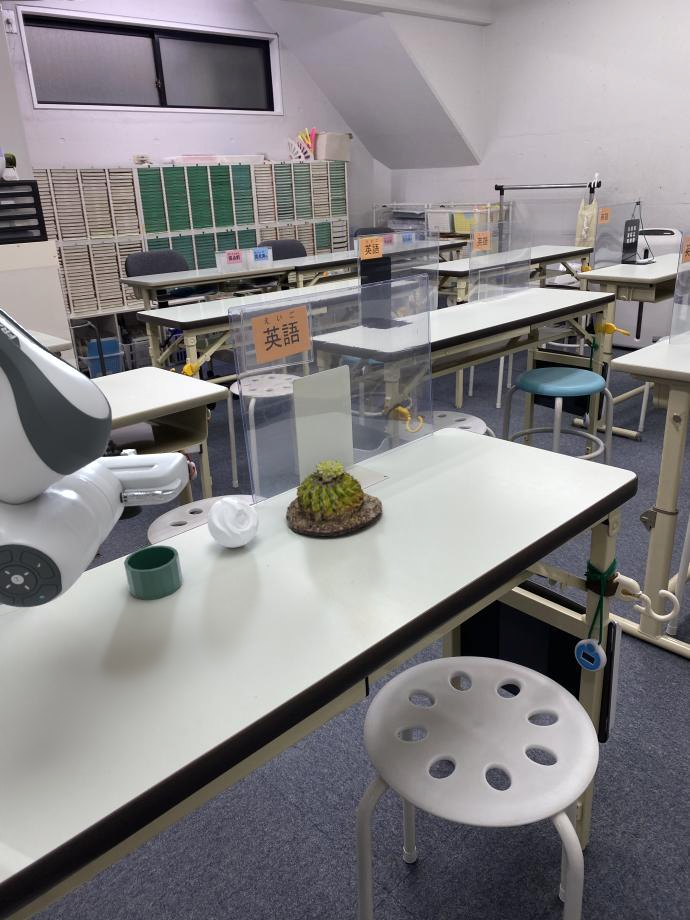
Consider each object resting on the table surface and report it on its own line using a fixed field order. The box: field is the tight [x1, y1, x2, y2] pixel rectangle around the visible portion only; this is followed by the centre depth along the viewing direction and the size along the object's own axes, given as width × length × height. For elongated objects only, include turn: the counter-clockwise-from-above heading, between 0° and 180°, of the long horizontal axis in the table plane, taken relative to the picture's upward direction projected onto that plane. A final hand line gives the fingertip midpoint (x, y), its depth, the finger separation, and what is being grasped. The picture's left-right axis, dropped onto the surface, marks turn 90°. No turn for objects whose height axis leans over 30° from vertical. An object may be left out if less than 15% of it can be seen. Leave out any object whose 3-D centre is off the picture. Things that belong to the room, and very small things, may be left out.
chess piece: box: [105, 439, 143, 521], centre depth 86 cm, size 4×4×10 cm
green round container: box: [123, 544, 183, 601], centre depth 98 cm, size 7×7×4 cm
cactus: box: [285, 459, 383, 537], centre depth 114 cm, size 17×16×10 cm
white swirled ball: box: [206, 496, 260, 549], centre depth 107 cm, size 8×8×8 cm
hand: (116, 456), depth 86 cm, fingers closed on chess piece, 2 cm apart
